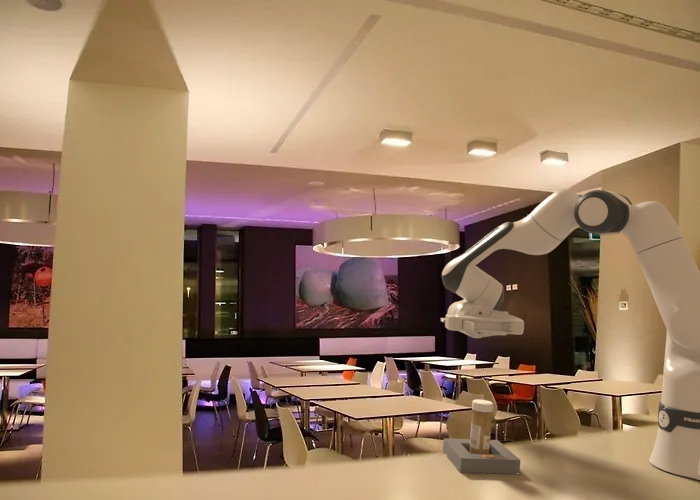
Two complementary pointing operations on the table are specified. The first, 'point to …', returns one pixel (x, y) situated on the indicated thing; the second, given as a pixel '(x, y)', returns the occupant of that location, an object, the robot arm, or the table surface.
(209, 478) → the table surface
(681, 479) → the table surface
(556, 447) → the table surface
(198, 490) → the table surface
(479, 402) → the sprinkles bottle
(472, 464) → the square frame
